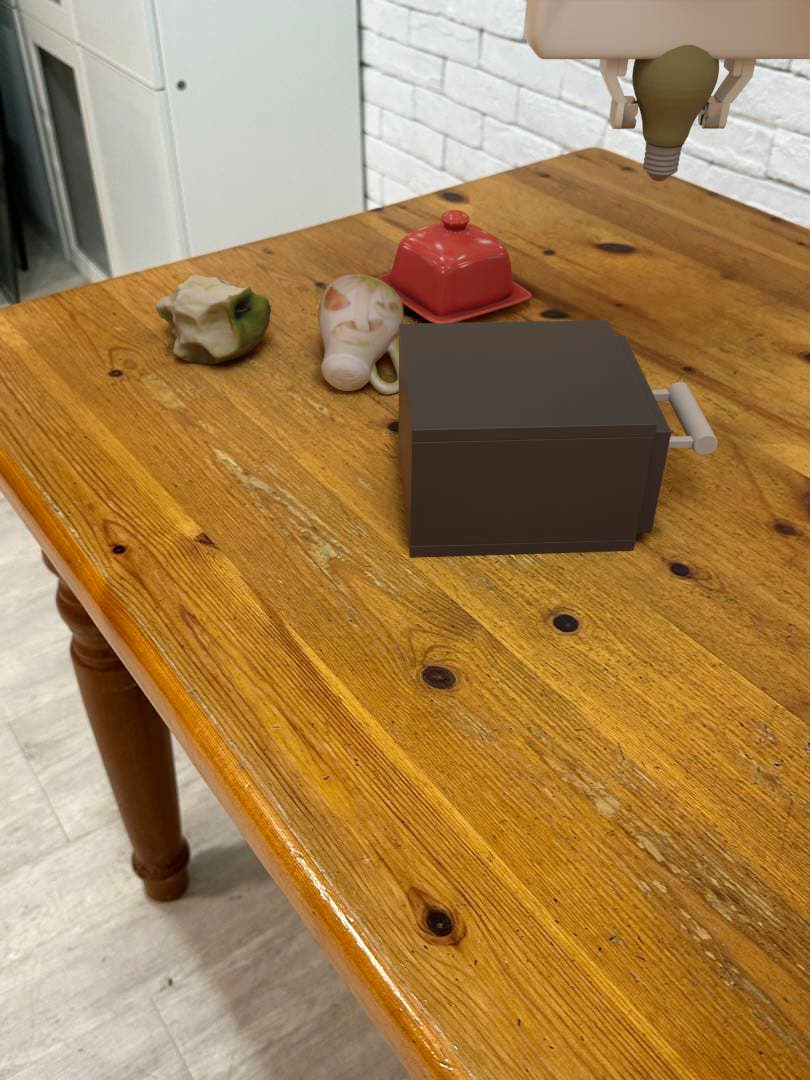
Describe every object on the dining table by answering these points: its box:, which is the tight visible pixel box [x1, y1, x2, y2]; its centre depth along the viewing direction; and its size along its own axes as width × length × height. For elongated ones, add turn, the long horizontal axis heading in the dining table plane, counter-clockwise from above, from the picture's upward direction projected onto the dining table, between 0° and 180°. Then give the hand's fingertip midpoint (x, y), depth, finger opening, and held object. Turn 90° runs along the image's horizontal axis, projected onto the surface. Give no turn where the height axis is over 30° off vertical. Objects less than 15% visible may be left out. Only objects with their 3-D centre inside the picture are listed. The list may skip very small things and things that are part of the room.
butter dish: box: [376, 209, 533, 323], centre depth 95 cm, size 12×12×8 cm
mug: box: [317, 273, 405, 395], centre depth 86 cm, size 8×10×10 cm
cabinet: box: [397, 319, 657, 558], centre depth 71 cm, size 15×14×10 cm
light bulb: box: [631, 45, 720, 182], centre depth 71 cm, size 6×6×10 cm
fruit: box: [154, 274, 272, 365], centre depth 88 cm, size 9×9×8 cm
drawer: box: [616, 335, 719, 534], centre depth 71 cm, size 18×13×8 cm
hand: (665, 126), depth 72 cm, fingers closed on light bulb, 5 cm apart
